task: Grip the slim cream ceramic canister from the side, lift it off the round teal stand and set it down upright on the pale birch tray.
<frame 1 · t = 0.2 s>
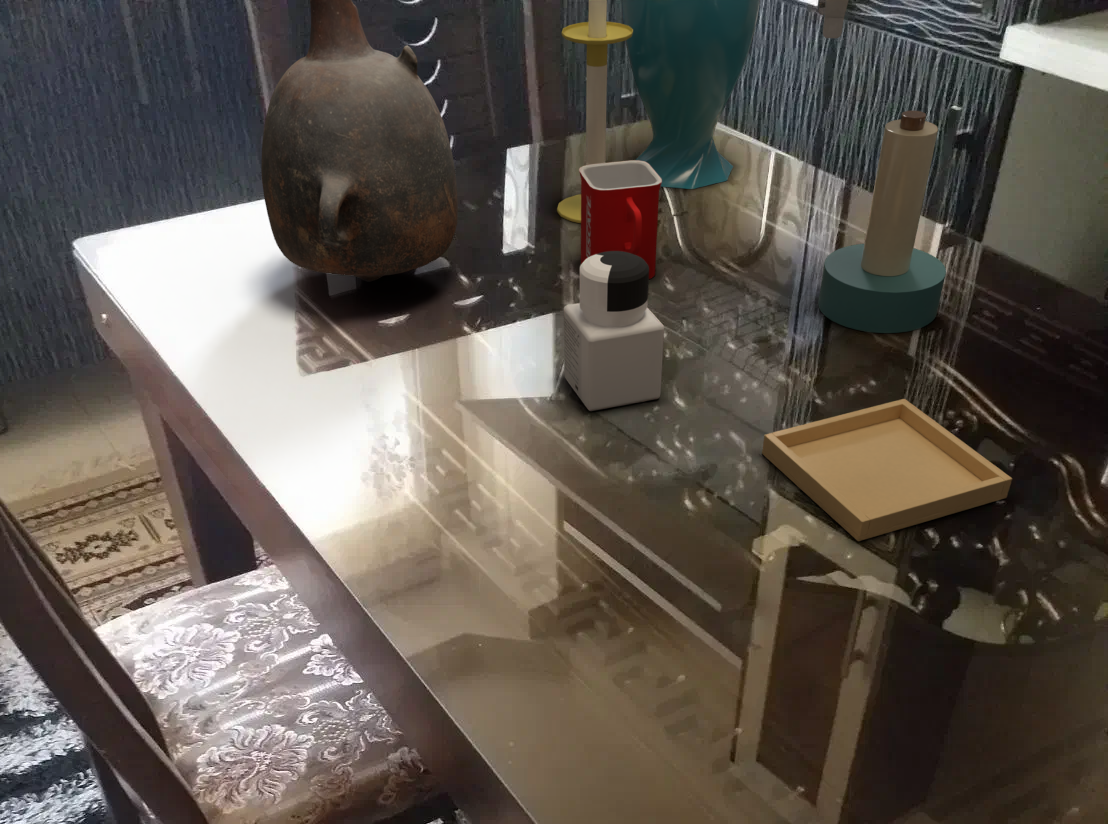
hand: (828, 24, 115), 26 cm above the table, tool pointing down, fingers open, 8 cm apart
container: (611, 390, 116), on the table
canister: (884, 266, 125), point 4 cm above the table, touching stand
stand: (877, 306, 128), on the table
vase: (680, 171, 160), on the table
candle: (594, 211, 150), on the table
mug: (621, 277, 136), on the table
tray: (880, 475, 104), on the table
jug: (372, 281, 136), on the table
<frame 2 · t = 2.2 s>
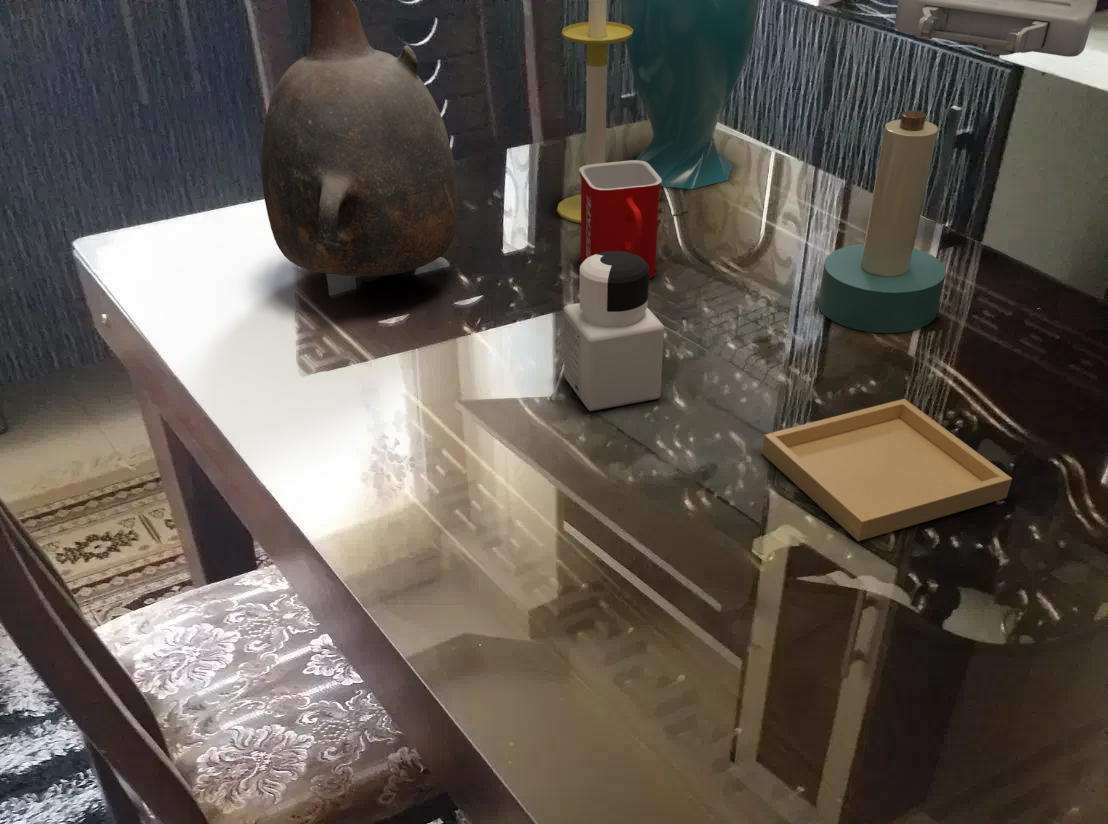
hand: (967, 36, 118), 24 cm above the table, tool horizontal, fingers open, 8 cm apart
nothing on the table moved.
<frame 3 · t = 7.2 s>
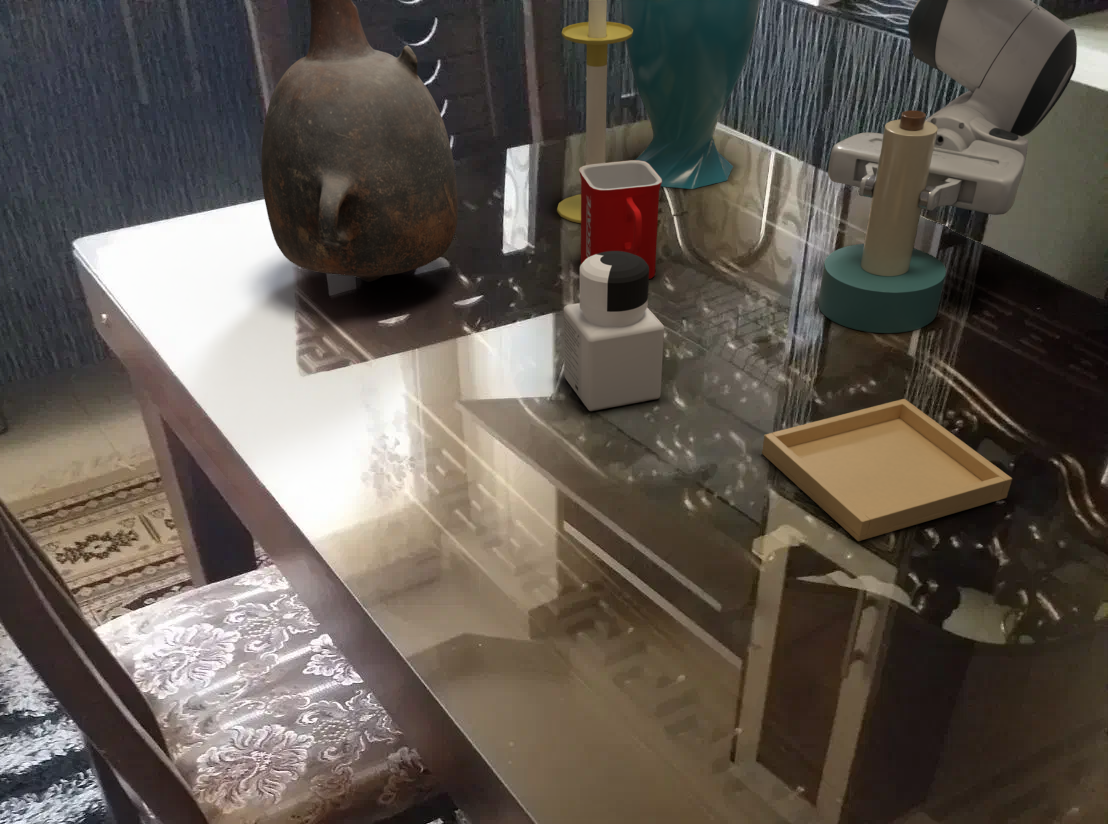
hand: (895, 195, 119), 12 cm above the table, tool horizontal, fingers closed on canister, 5 cm apart
canister: (884, 266, 125), point 5 cm above the table, touching gripper, stand
everything else where it was.
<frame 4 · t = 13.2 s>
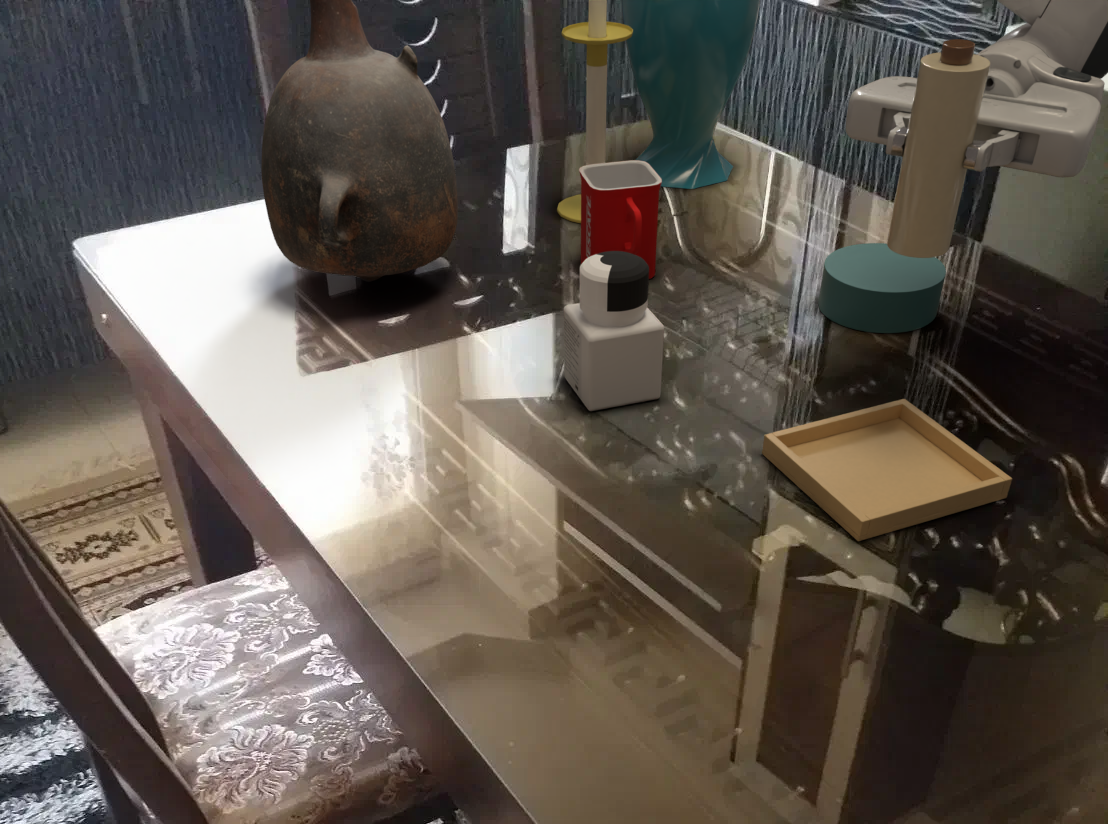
hand: (933, 152, 92), 25 cm above the table, tool horizontal, fingers closed on canister, 5 cm apart
canister: (917, 245, 98), point 17 cm above the table, touching gripper
everything else where it was.
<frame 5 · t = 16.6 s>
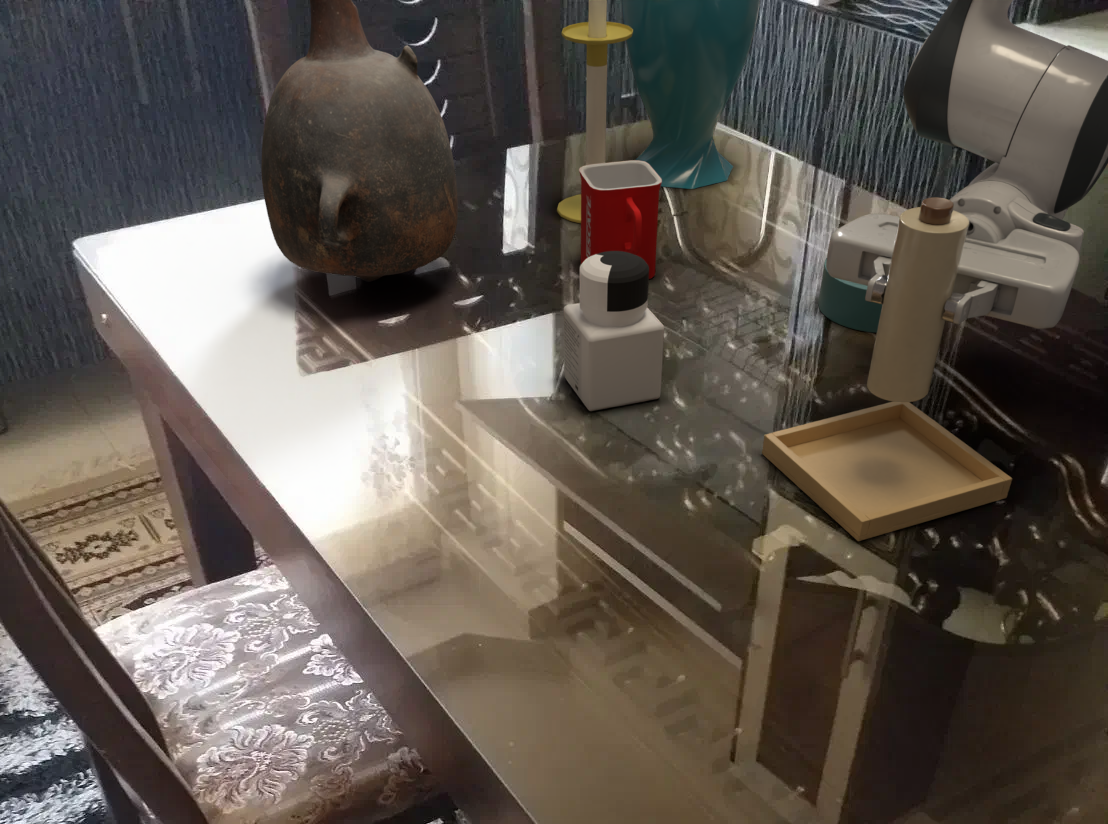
hand: (913, 303, 92), 16 cm above the table, tool horizontal, fingers closed on canister, 5 cm apart
canister: (897, 387, 98), point 9 cm above the table, touching gripper
everything else where it was.
when the fingers open (8 cm above the table, at t = 19.2 s): canister stays where it is, resting on tray.
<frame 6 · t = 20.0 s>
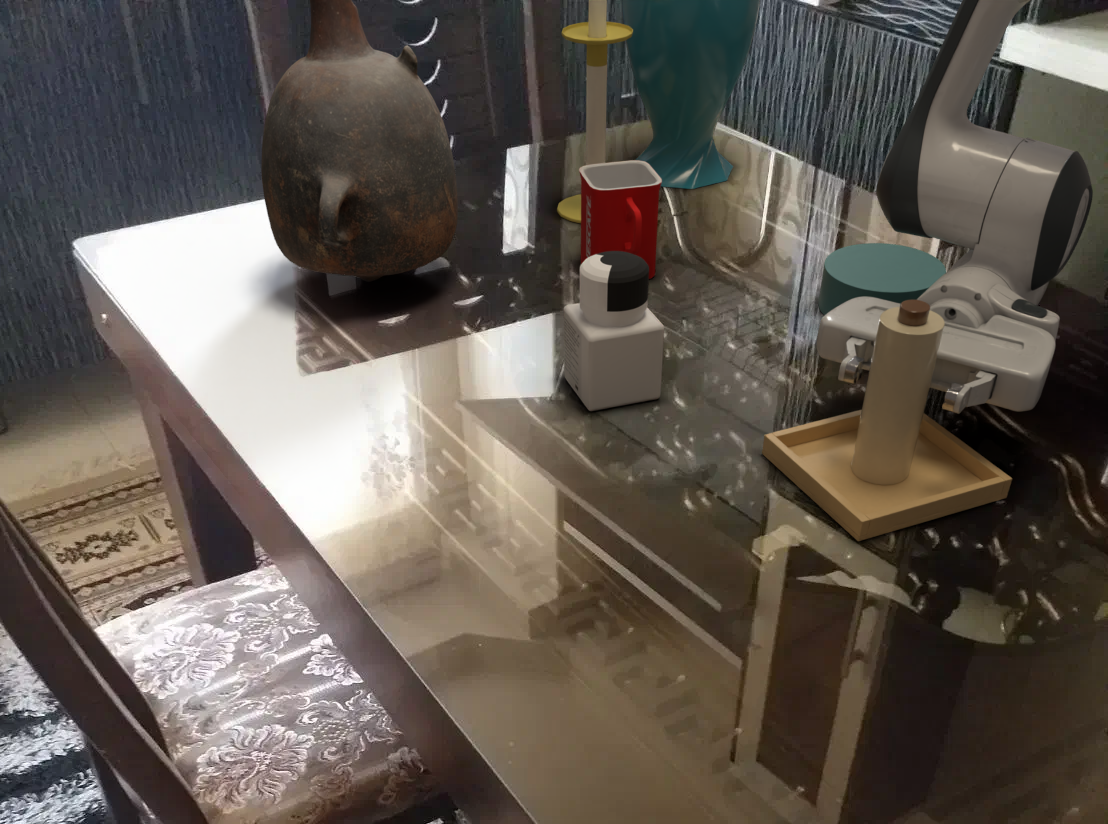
hand: (898, 388, 97), 9 cm above the table, tool horizontal, fingers open, 8 cm apart
canister: (879, 469, 104), resting on tray
everything else where it was.
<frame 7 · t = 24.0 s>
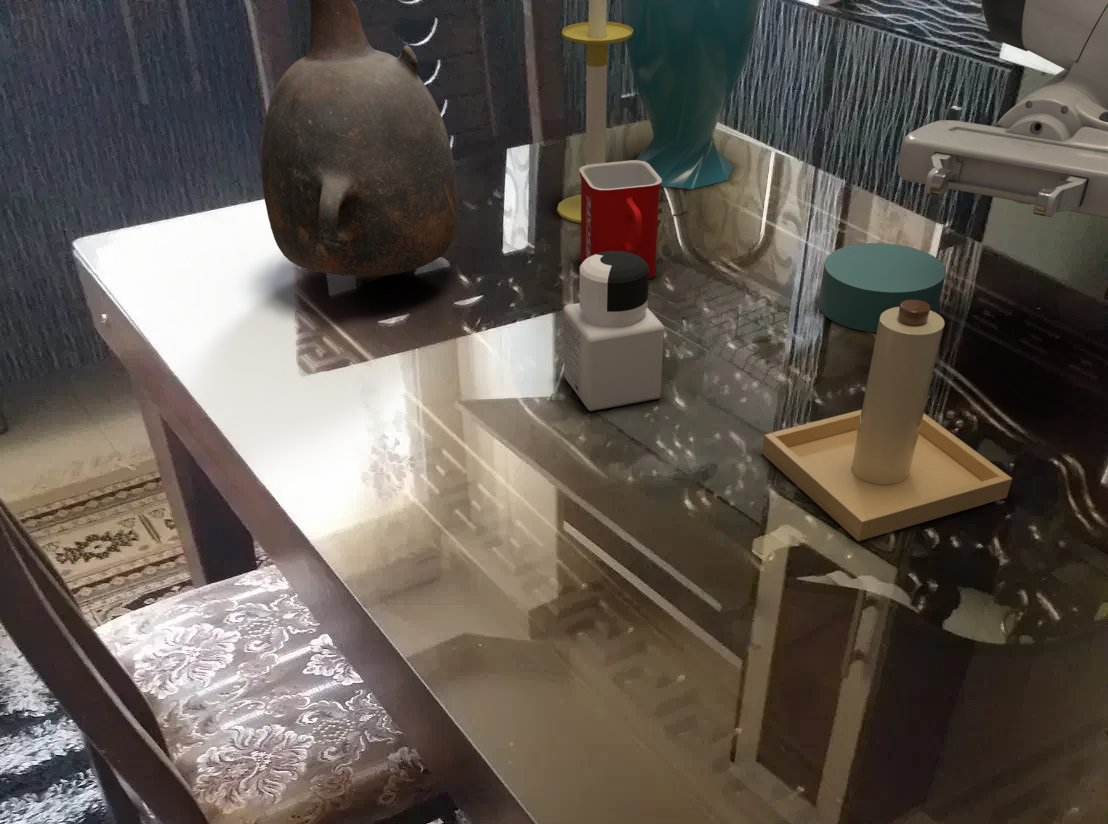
hand: (987, 195, 96), 21 cm above the table, tool horizontal, fingers open, 8 cm apart
nothing on the table moved.
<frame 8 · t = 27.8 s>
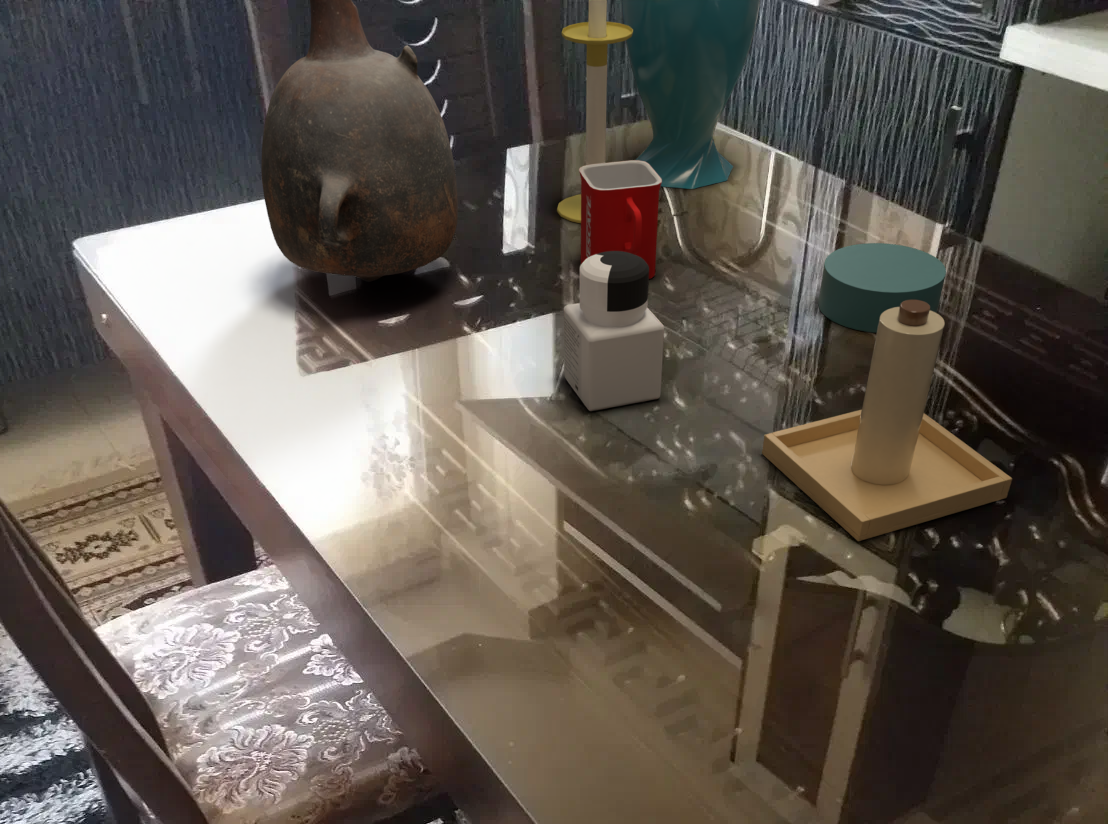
nothing on the table moved.
at the end: canister inside the target area in the tray (0.2 cm from its centre), point 0.5 cm above the tray's base; canister tilted 0°; canister touching tray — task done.
